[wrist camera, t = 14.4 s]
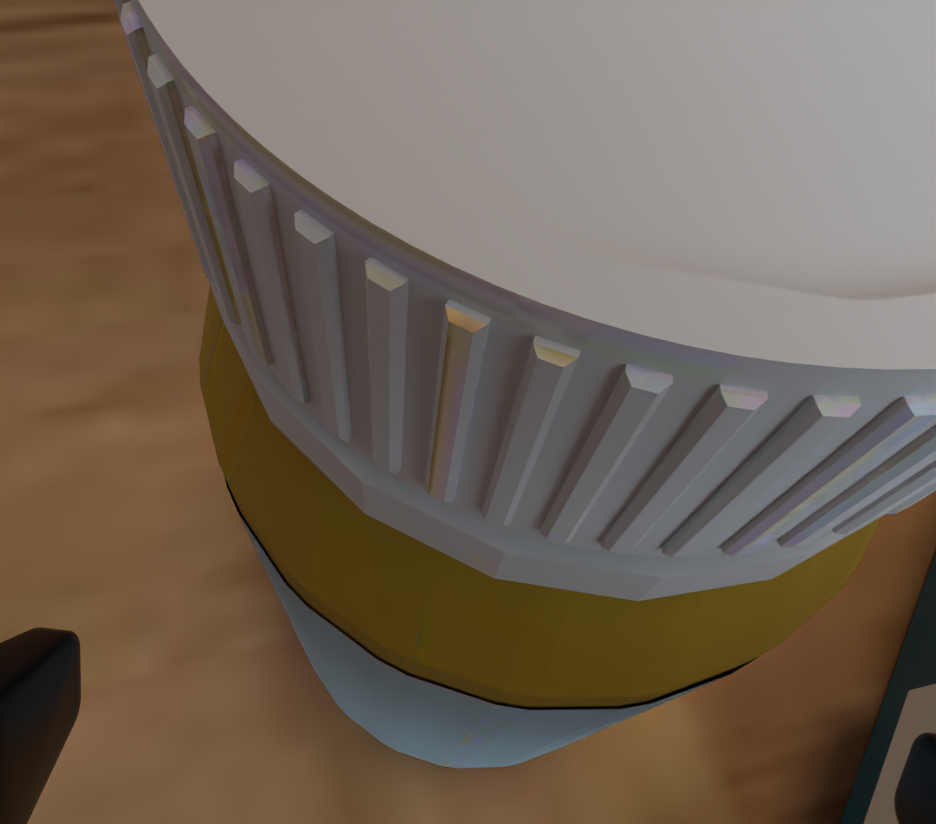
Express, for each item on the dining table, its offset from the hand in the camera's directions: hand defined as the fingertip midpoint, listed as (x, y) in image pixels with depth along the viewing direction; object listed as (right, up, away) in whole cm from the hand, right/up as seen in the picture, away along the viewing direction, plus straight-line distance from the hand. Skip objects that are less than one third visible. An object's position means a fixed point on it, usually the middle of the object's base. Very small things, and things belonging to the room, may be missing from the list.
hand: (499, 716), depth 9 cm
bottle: (0, -1, +9) cm, 9 cm away
